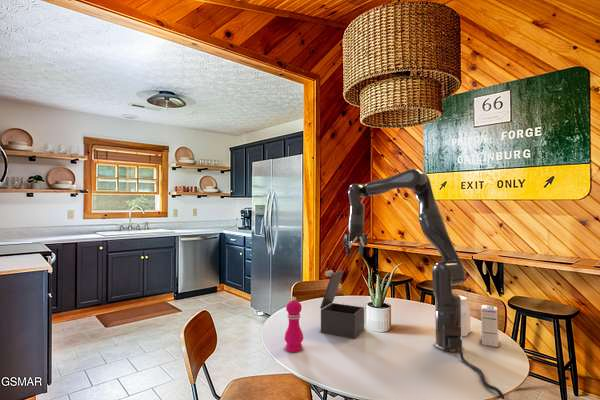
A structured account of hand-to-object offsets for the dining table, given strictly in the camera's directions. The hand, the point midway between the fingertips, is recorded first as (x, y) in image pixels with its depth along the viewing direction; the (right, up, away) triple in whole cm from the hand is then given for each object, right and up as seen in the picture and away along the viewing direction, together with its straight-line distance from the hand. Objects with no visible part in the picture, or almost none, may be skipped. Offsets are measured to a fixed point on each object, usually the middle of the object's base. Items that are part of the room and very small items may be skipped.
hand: (354, 254), depth 178 cm
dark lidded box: (-9, -30, -24) cm, 40 cm away
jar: (+41, -30, -25) cm, 57 cm away
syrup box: (+48, -30, -39) cm, 69 cm away
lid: (-13, -12, -22) cm, 28 cm away
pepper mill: (-31, -30, -44) cm, 61 cm away
